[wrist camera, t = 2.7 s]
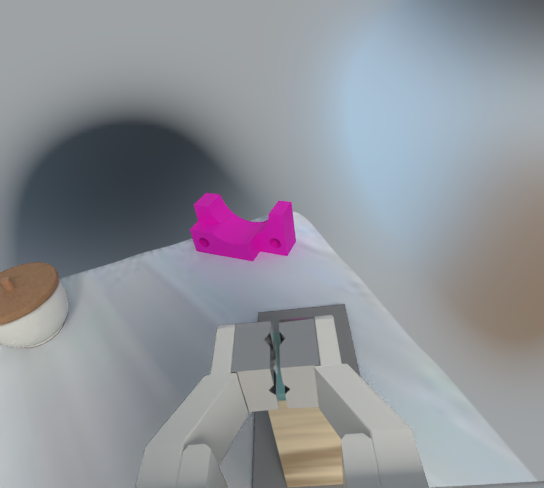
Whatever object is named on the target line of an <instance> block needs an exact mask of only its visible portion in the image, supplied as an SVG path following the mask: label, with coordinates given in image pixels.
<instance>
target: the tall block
mask: <svg viewBox="0 0 544 488" xmlns="http://www.w3.org/2000/svg"><path fill="white" fill-rule="evenodd" d="M273 339H274V340H275V341H276V347H277V356H278V374H277V375H276V376H277V382H278V387H279V409H275V410H268V413H269V417H270V421H271V425H272V429H273V433H274V437H275V440H276V444H277V448H278V452H279V456H280V460H281V464H282V468H283V472H284V476H285V480H286V484H287V487H302V486H319V485H336V484H343V474H342V452H341V439H340V437H339V436H338V434H337V433H336V432H335V430H334V429H333V427H332V426H331V425H330V423H329V422H328V421H327V419H326V418H325V416H324V415H323V414H322V412H321V411H320V409H319V407H307V408H288V406H287V401H286V396H285V385H284V384H283V381H282V376H281V370H280V348H279V346H280V344H281V340H280V334H279V332H274V333H273Z"/></svg>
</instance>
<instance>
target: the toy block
mask: <svg viewBox="0 0 544 488" xmlns="http://www.w3.org/2000/svg"><path fill="white" fill-rule="evenodd" d="M194 207H195V211H196V214H197V217H198V222H197V223H196V224H195V225H194V226H193V227H192V228H191V229H190V231H191V234H192V238H193V241H194V244H195V247H196V250H197V251H199V252H204V253H210V254H215V255H221V256H227V257H232V258H238V259H243V260H249V261H254V259H255V258H256V256H257V255H258V253H259V252H260V251H261V252H267V253H273V254H279V255H285V256H287V255H288V254H289V252H290V250H291V249H292V247H293V245H294V244H295V242H296V239H295V230H294V221H293V213H292V204H291V202H286V201H278V203H277V204H276V205H275V207H274V208H273V209H272V210H271V212H270V213H269V219H268V220H267V221H264V222H250V221H247V220H244V219H242V218H240V217H238V216H237V215H235V214H234V213H233V212H232V211H231V210H230V209H229V208H228V207H227V206H226V205H225V203H224V202H223V200H222V198H221V196H220V194H210V193H205V194H204V195H203V196H202V197H201V198H200V199H199V200H198V201H197V202H196V203H195V204H194Z"/></svg>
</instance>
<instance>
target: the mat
mask: <svg viewBox="0 0 544 488" xmlns="http://www.w3.org/2000/svg"><path fill="white" fill-rule="evenodd" d="M325 315H332V316H333V318H334V323H335V329H336V335H337V340H338V346H339V352H340V357H341V363H342V364H348V365H349V366H350V367H351V368H352V369H353V370H354V371H355V372H356V373H357V374H358V375H359V376H360V374H359V369H358V364H357V360H356V355H355V350H354V346H353V341H352V336H351V332H350V327H349V322H348V318H347V313H346V308H345V304H343V305H332V306H322V307H311V308H300V309H290V310H279V311H268V312H259V315H258V322H268V321H271V322H272V326H273V333H274V332H279V320H285V319H294V318H304V317H313V316H314V317H315V316H325ZM253 488H343V484H336V485H319V486H302V487H287V484H286V480H285V476H284V472H283V468H282V464H281V460H280V456H279V452H278V448H277V444H276V440H275V437H274V433H273V429H272V425H271V421H270V417H269V413H268V410H265V411H255V434H254V463H253Z"/></svg>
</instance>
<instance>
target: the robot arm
mask: <svg viewBox="0 0 544 488" xmlns="http://www.w3.org/2000/svg"><path fill="white" fill-rule="evenodd" d="M279 334H280V340H281V344H280V346H279V348H280V370H281V376H282V381H283V384H284V385H285V396H286V401H287V406H288V408H307V407H319V409H320V411H321V412H322V414H323V415H324V416H325V418H326V419H327V421H328V422H329V423H330V425H331V426H332V427H333V429H334V430H335V432H336V433H337V434H338V436H339V437H340V439H341V452H342V474H343V488H429V486H428V483H427V480H426V476H425V473H424V470H423V466H422V463H421V460H420V456H419V453H418V450H417V446H416V443H415V440H414V436H413V433H412V430H411V428H410V427H409V426H408V425H407V424H406V423H405V422H404V421H403V420H402V419H401V418H400V417H399V416H398V415H397V414H396V413H395V412H394V411H393V410H392V409H391V408H390V407H389V406H388V405H387V404H386V403H385V402H384V401H383V399H382V398H381V397H380V396H379V395H378V394H377V393H376V392H375V391H374V390H373V389H372V388H371V387H370V386H369V385H368V384H367V383H366V382H365V381H364V380H363V379H362V378H361V377H360V376H359V375H358V374H357V373H356V372H355V371H354V370H353V369H352V368H351V367H350V366H349V365H348V364H342V363H341V357H340V352H339V346H338V340H337V335H336V329H335V323H334V318H333V316H332V315H325V316H315V317H314V316H313V317H304V318H294V319H285V320H279ZM277 374H278V356H277V347H276V341H275V340H274V339H273V326H272V322H271V321H268V322H253V323H238V324H227V325H219V326H218V328H217V331H216V338H215V345H214V352H213V358H212V365H211V372H210V375H205V376H204V377H203V378H202V379H201V381H200V382H199V383H198V384H197V385H196V387H195V388H194V389H193V390H192V391H191V393H190V394H189V395H188V396H187V397H186V399H185V400H184V401H183V402H182V403H181V405H180V406H179V407H178V408H177V409H176V411H175V412H174V413H173V414H172V415H171V417H170V418H169V419H168V420H167V421H166V423H165V424H164V425H163V426H162V427H161V429H160V430H159V431H158V432H157V433H156V435H155V436H154V437H153V438H152V439H151V441H150V442H149V443H148V444H147V445H146V447H145V451H144V455H143V458H142V462H141V466H140V470H139V474H138V478H137V481H136V485H135V488H228V486H227V483H226V481H225V479H224V477H223V475H222V473H221V470H220V468H219V465H220V463H221V461H222V460H223V458H224V456H225V454H226V453H227V451H228V449H229V447H230V446H231V444H232V442H233V441H234V439H235V437H236V435H237V434H238V432H239V430H240V429H241V427H242V425H243V423H244V422H245V420H246V418H247V416H248V415H249V413H248V412H255V411H265V410H275V409H279V387H278V382H277V376H276V375H277ZM433 488H544V481H537V482H520V483H502V484H485V485H468V486H450V487H433Z"/></svg>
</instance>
